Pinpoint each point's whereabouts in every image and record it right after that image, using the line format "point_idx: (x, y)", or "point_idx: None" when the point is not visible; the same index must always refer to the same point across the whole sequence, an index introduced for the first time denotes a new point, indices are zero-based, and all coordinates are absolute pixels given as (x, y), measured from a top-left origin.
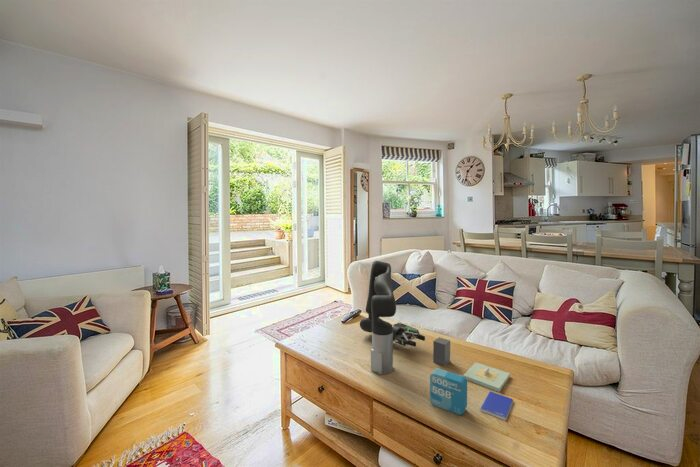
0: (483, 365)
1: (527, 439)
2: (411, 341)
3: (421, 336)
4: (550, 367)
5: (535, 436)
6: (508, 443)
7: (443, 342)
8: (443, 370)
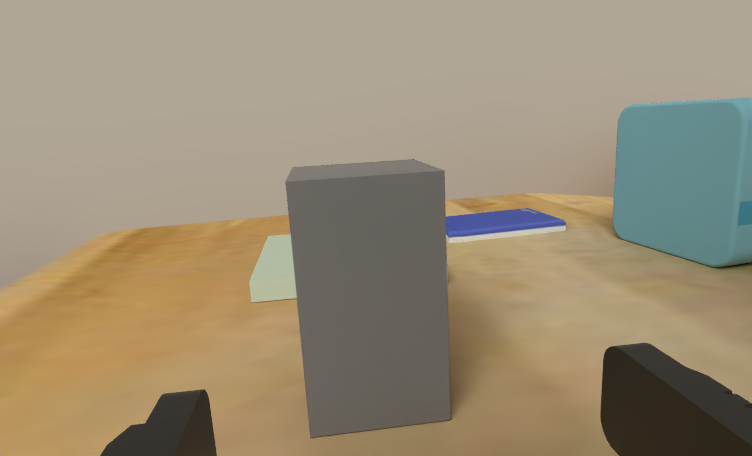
0: (263, 266)
1: (534, 203)
2: (722, 395)
3: (183, 454)
4: (104, 241)
5: (508, 202)
6: (590, 204)
7: (381, 164)
8: (704, 100)
